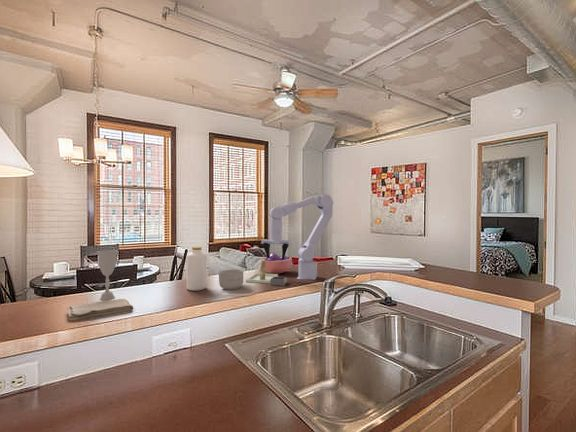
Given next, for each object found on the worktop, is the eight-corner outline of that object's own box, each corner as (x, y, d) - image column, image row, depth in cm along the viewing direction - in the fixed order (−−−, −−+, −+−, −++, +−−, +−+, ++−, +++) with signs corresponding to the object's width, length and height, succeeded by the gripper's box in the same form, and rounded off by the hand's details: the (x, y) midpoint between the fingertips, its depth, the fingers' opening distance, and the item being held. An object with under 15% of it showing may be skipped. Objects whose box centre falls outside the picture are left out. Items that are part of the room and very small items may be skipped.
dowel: (265, 278, 153) (266, 260, 153) (264, 279, 151) (265, 261, 151) (260, 278, 153) (261, 260, 153) (259, 279, 151) (260, 261, 151)
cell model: (298, 272, 174) (299, 252, 174) (279, 278, 157) (279, 256, 157) (274, 269, 183) (274, 249, 183) (252, 274, 166) (253, 253, 166)
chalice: (107, 301, 115) (107, 252, 114) (91, 300, 116) (92, 252, 116) (122, 296, 122) (122, 250, 122) (107, 295, 123) (107, 249, 123)
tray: (278, 277, 159) (278, 274, 159) (270, 284, 143) (270, 280, 143) (255, 276, 161) (255, 273, 161) (245, 283, 146) (245, 279, 146)
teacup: (230, 293, 127) (230, 274, 127) (212, 289, 134) (212, 270, 134) (253, 287, 138) (253, 269, 138) (236, 283, 145) (236, 266, 145)
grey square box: (286, 283, 145) (286, 277, 145) (283, 287, 139) (283, 279, 139) (273, 283, 146) (273, 276, 146) (270, 286, 140) (270, 279, 140)
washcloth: (66, 313, 102) (66, 304, 102) (126, 304, 113) (126, 295, 113) (68, 323, 93) (68, 313, 93) (133, 312, 104) (133, 303, 104)
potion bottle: (182, 289, 133) (182, 247, 132) (196, 285, 140) (196, 246, 140) (196, 292, 129) (196, 248, 128) (210, 288, 136) (210, 247, 136)
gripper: (259, 231, 151) (259, 259, 151) (288, 232, 148) (288, 260, 148) (263, 230, 158) (263, 257, 158) (291, 231, 155) (291, 258, 155)
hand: (275, 258), depth 154 cm, fingers open, 7 cm apart
